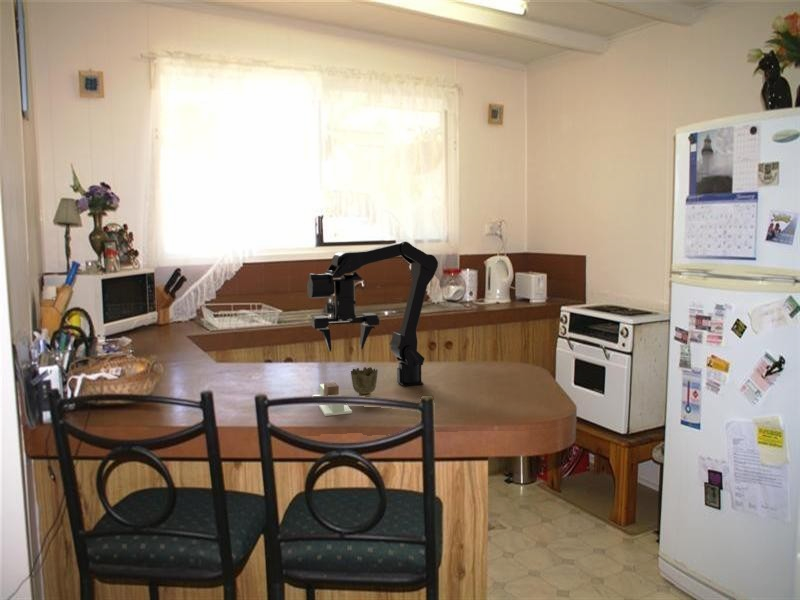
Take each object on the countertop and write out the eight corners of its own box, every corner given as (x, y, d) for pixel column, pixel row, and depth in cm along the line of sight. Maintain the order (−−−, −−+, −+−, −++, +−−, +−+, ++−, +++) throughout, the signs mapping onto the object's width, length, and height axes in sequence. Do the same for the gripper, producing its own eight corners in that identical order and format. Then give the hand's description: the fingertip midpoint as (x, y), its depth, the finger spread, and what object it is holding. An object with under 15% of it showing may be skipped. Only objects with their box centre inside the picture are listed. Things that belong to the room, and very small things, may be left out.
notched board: (337, 394, 179) (336, 382, 179) (352, 413, 162) (351, 399, 162) (312, 397, 177) (312, 384, 177) (325, 416, 160) (324, 402, 160)
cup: (354, 403, 171) (353, 374, 170) (349, 395, 178) (348, 368, 177) (381, 400, 173) (380, 372, 172) (374, 393, 180) (374, 366, 179)
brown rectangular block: (335, 399, 172) (334, 381, 172) (339, 404, 168) (338, 386, 168) (324, 400, 171) (324, 382, 171) (327, 405, 167) (327, 387, 167)
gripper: (369, 291, 190) (370, 342, 192) (307, 294, 185) (308, 347, 187) (379, 296, 180) (380, 350, 182) (314, 299, 174) (315, 354, 176)
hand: (345, 350), depth 182 cm, fingers open, 9 cm apart
